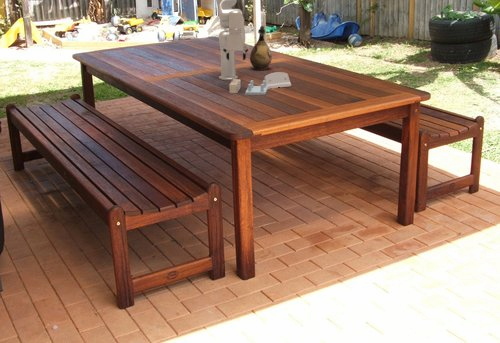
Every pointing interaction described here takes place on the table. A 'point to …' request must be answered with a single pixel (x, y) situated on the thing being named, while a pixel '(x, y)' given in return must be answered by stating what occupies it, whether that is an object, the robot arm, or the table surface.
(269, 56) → the ceramic jug
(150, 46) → the table surface
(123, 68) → the table surface
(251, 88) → the rack
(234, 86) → the clay bar
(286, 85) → the white router
